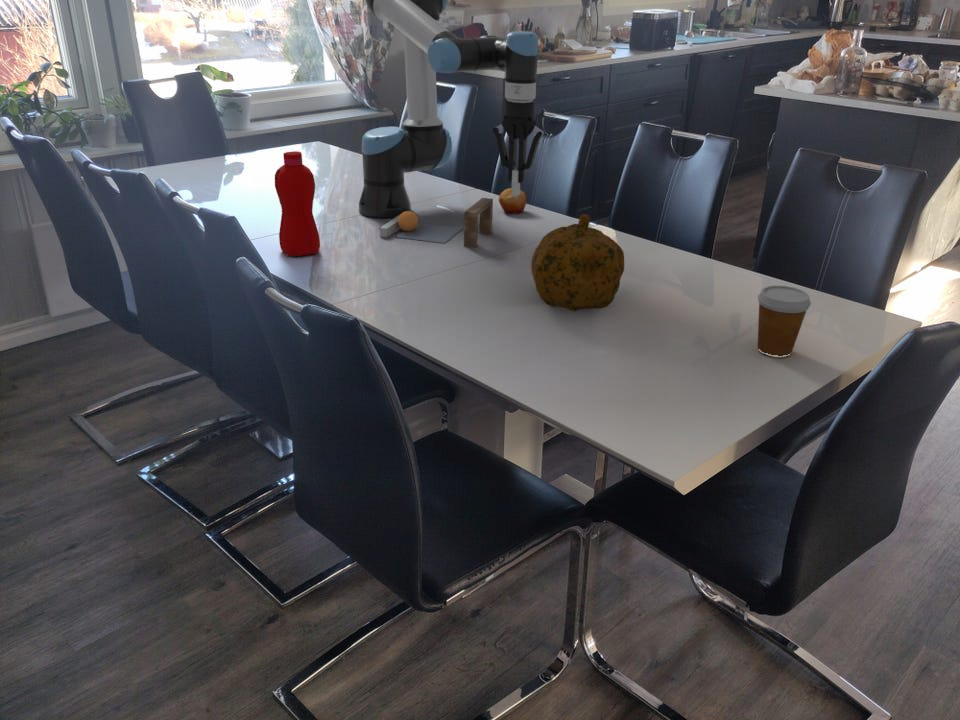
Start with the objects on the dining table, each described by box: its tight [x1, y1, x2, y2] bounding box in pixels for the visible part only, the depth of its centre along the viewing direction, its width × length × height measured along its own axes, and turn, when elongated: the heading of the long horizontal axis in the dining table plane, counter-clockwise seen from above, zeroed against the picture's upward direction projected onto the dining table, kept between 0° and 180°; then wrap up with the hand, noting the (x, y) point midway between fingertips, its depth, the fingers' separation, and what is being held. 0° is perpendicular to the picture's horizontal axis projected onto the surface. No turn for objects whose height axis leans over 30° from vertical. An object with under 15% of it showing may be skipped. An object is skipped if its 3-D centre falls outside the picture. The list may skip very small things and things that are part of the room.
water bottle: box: [274, 150, 321, 257], centre depth 204 cm, size 9×11×25 cm
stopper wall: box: [379, 214, 401, 238], centre depth 227 cm, size 2×16×2 cm, turn 161°
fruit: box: [498, 187, 527, 214], centre depth 244 cm, size 8×8×8 cm
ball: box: [398, 210, 419, 232], centre depth 225 cm, size 6×6×6 cm
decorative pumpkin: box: [530, 214, 625, 312], centre depth 178 cm, size 20×21×20 cm
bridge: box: [463, 197, 494, 248], centre depth 219 cm, size 3×14×9 cm, turn 161°
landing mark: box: [395, 222, 464, 244], centre depth 225 cm, size 14×14×1 cm
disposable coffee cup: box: [757, 285, 812, 356], centre depth 158 cm, size 10×10×12 cm
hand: (515, 194), depth 213 cm, fingers closed
